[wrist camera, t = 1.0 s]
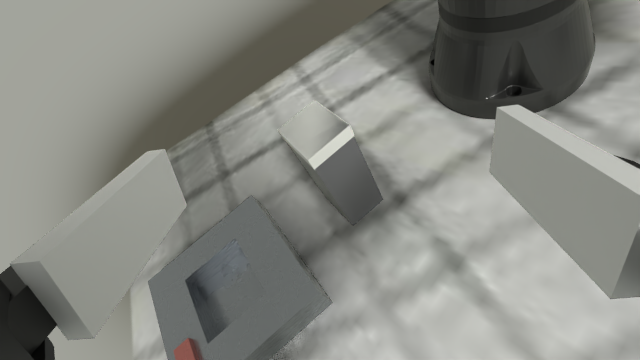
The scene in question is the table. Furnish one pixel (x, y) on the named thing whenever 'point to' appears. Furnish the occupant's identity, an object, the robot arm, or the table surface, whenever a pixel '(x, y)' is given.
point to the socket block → (235, 291)
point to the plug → (332, 160)
